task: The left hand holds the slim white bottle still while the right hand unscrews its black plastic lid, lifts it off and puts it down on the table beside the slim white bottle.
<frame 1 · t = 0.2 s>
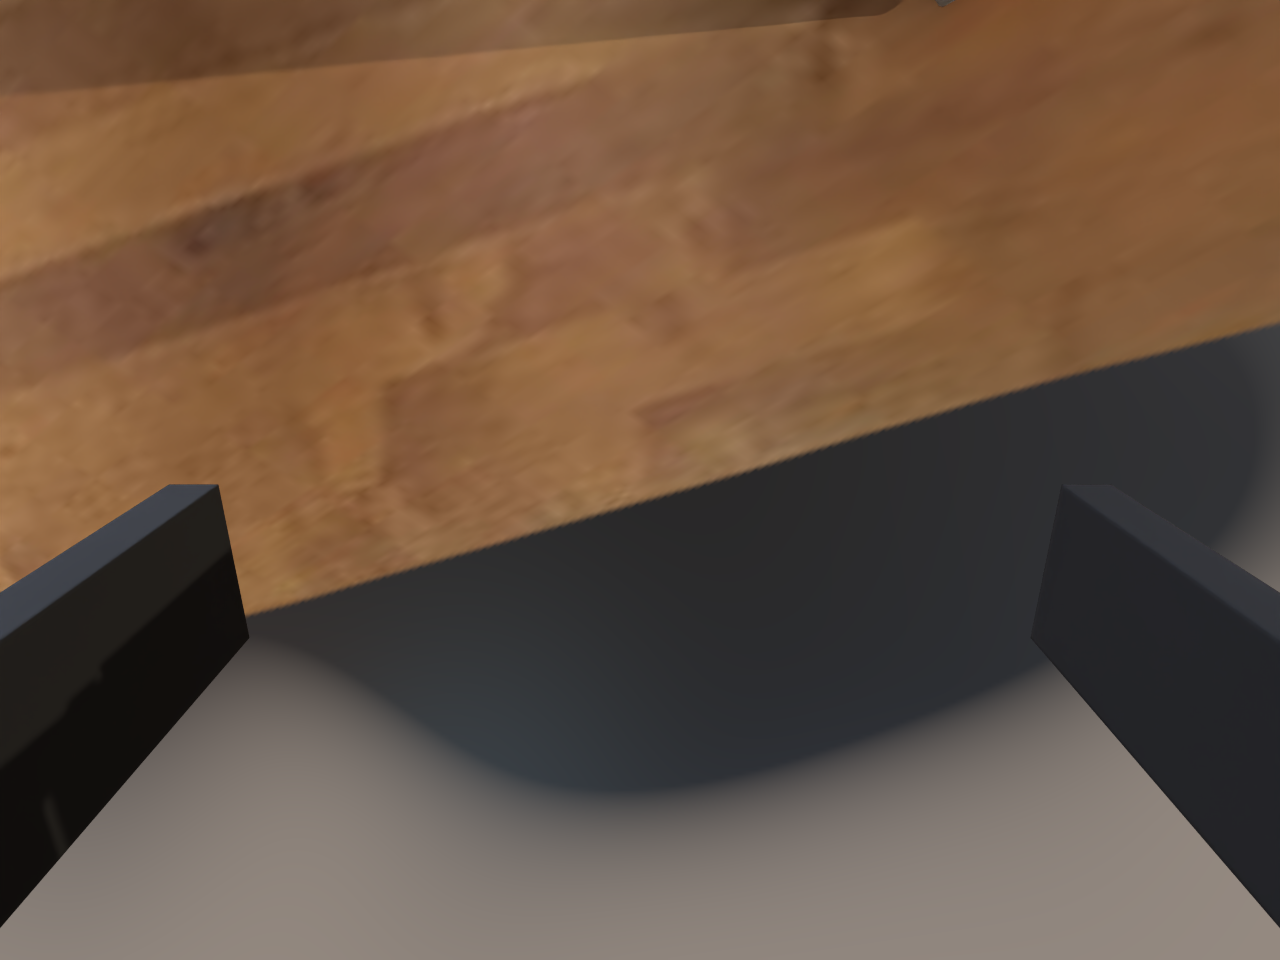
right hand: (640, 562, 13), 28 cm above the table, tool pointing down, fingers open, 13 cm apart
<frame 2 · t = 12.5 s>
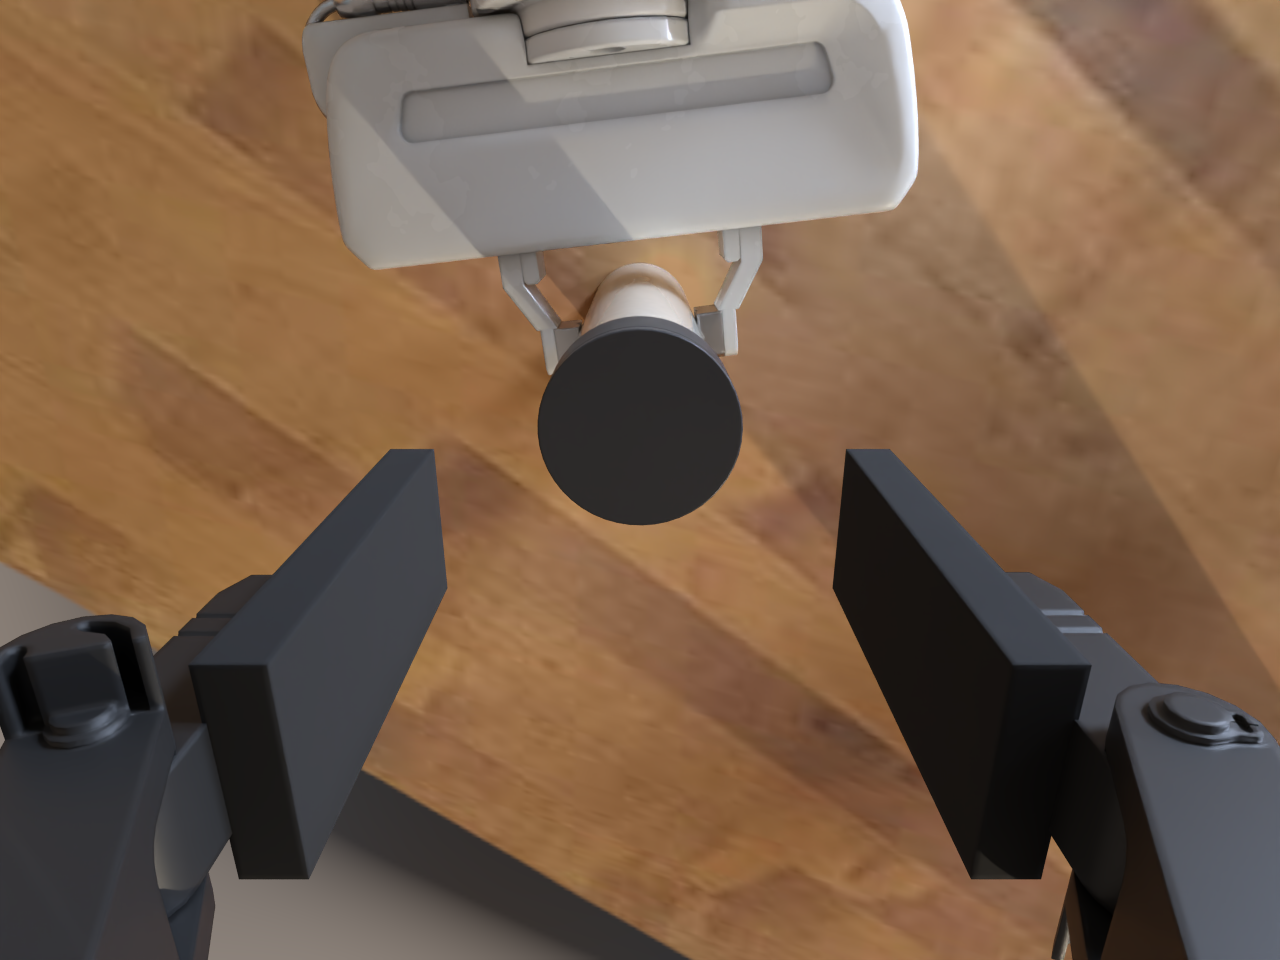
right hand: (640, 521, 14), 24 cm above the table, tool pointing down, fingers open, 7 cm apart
left hand: (643, 362, 31), fingers closed on slim white bottle, 4 cm apart
lid: (640, 427, 19), point 19 cm above the table, screwed on, not yet turned
slim white bottle: (639, 312, 37), on the table, touching left hand
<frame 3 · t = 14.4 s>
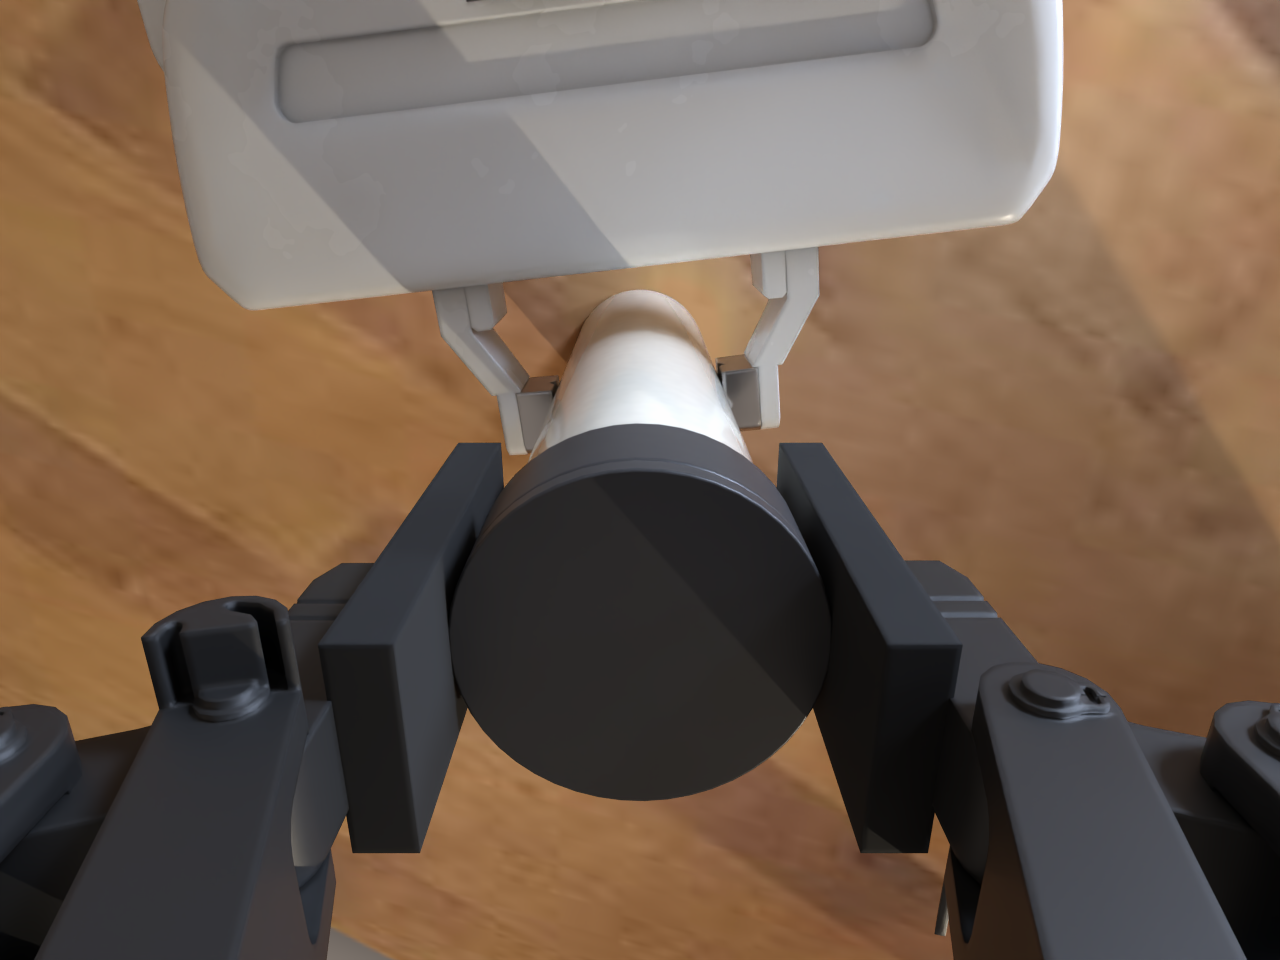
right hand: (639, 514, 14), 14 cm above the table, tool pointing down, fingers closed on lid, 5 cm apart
lid: (640, 635, 11), point 19 cm above the table, screwed on, not yet turned, touching right hand
slim white bottle: (639, 354, 28), on the table, touching left hand
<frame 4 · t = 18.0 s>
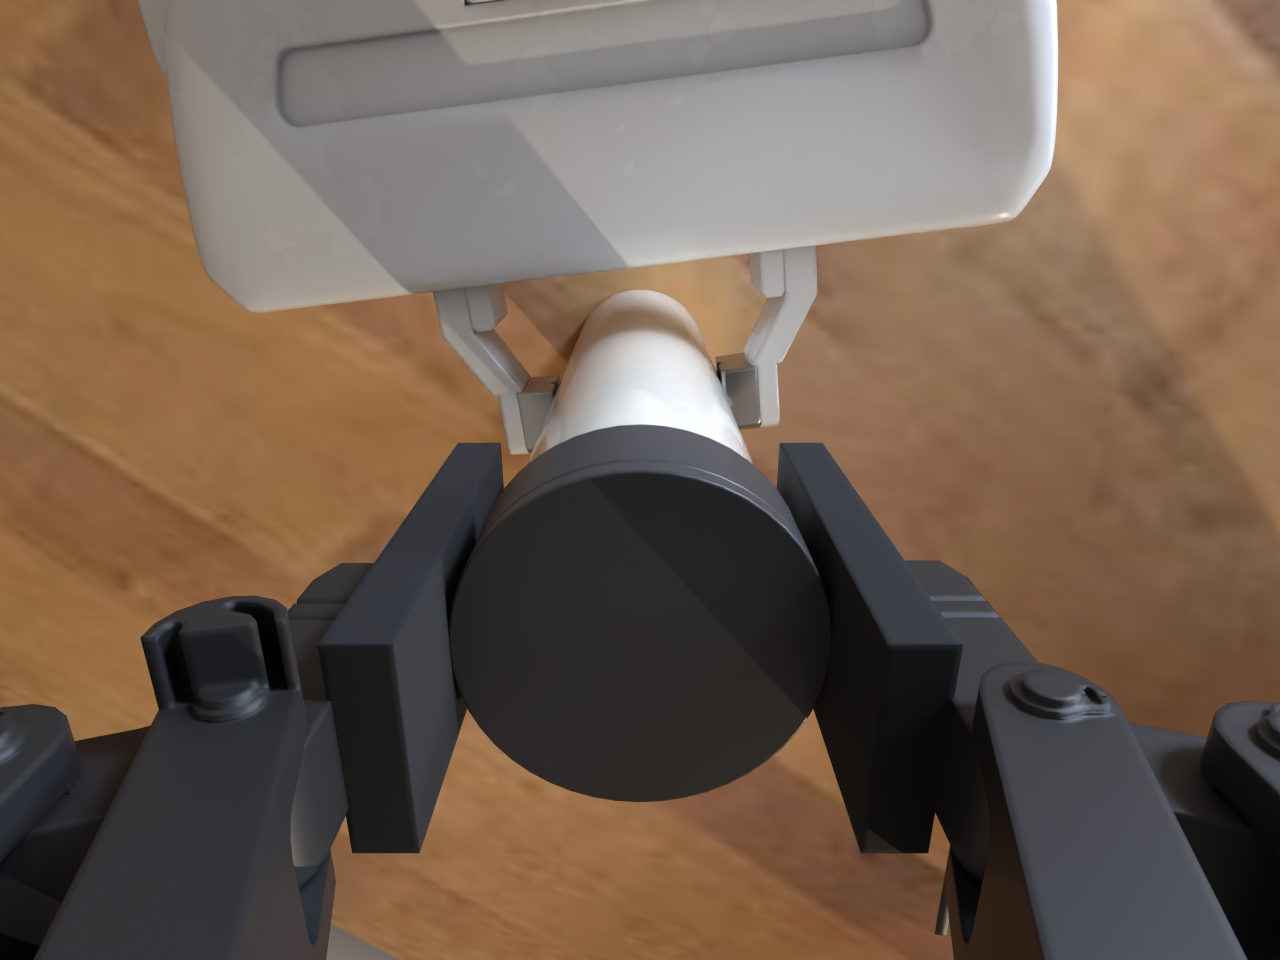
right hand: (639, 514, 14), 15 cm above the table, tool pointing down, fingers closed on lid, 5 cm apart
lid: (640, 636, 11), point 19 cm above the table, turned 118° so far, risen 0.1 cm, still on its thread, touching right hand
slim white bottle: (640, 353, 28), on the table, touching left hand
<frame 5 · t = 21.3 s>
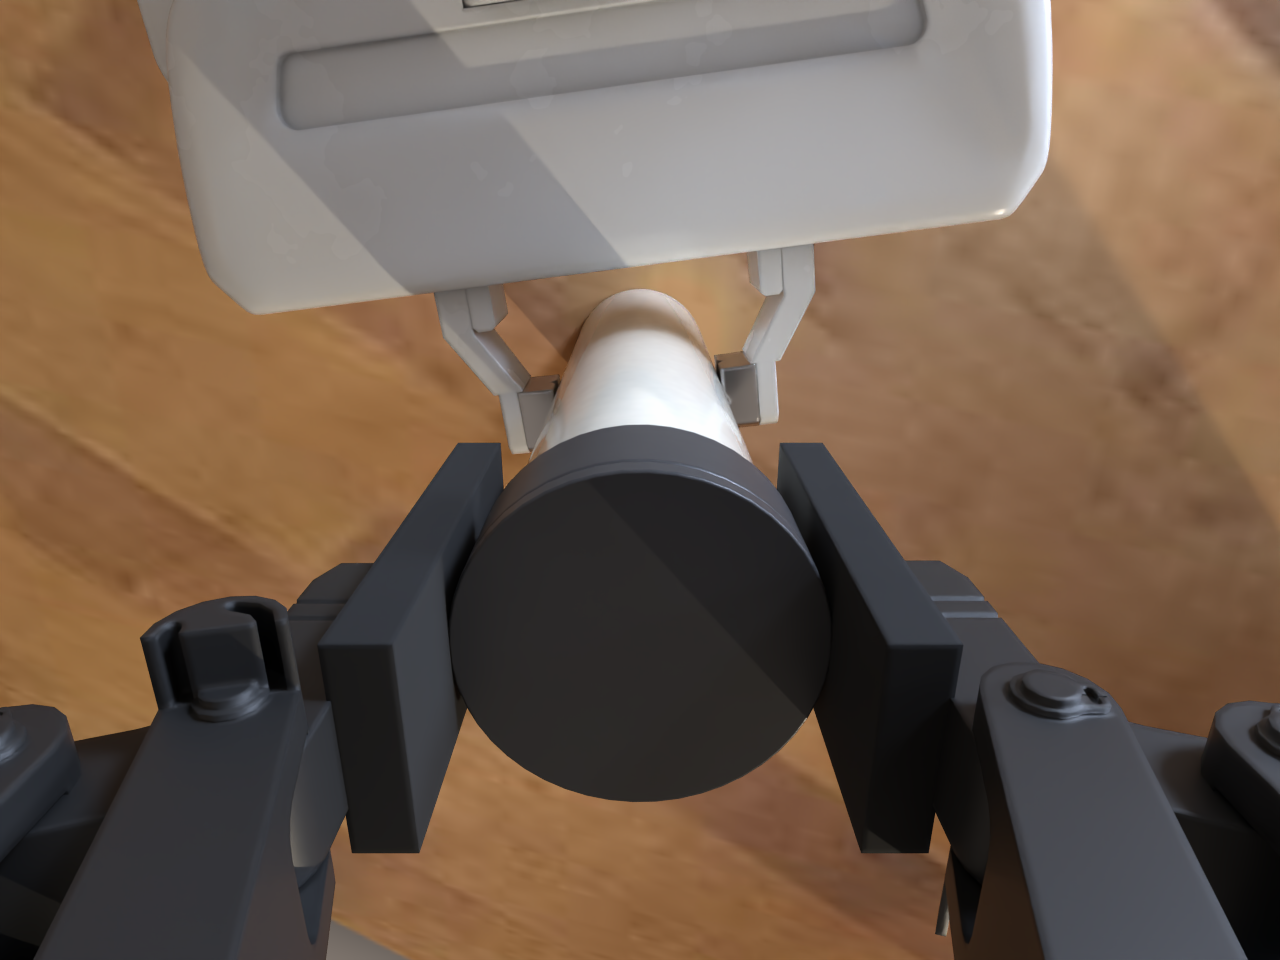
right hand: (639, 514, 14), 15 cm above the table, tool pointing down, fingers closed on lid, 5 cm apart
lid: (640, 636, 11), point 19 cm above the table, turned 235° so far, risen 0.3 cm, still on its thread, touching right hand
slim white bottle: (640, 352, 28), on the table, touching left hand
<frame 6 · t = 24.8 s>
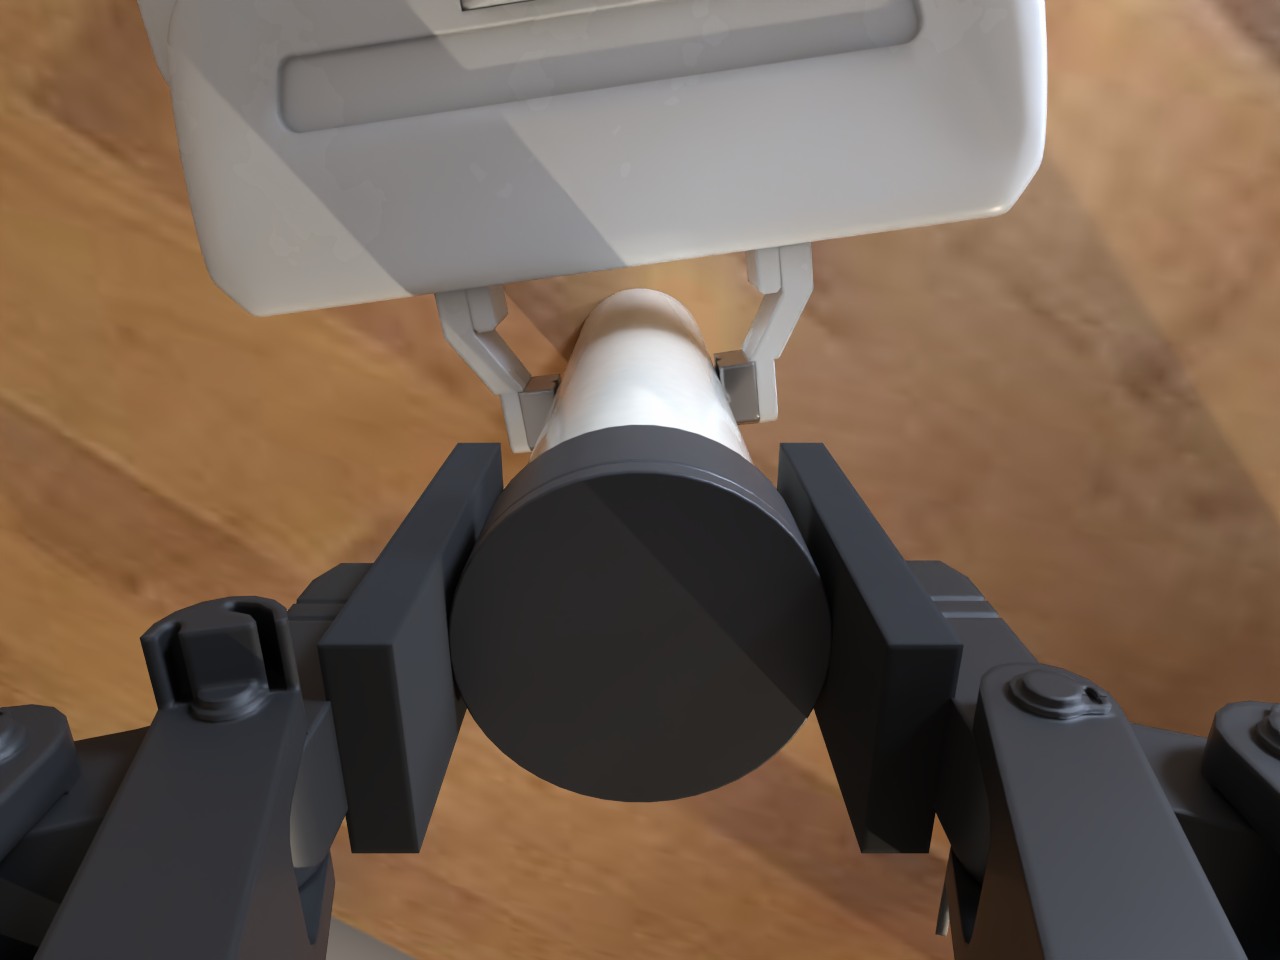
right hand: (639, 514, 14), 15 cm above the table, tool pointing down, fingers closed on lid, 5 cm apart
lid: (640, 636, 11), point 19 cm above the table, turned 353° so far, risen 0.4 cm, still on its thread, touching right hand
slim white bottle: (640, 352, 28), on the table, touching left hand
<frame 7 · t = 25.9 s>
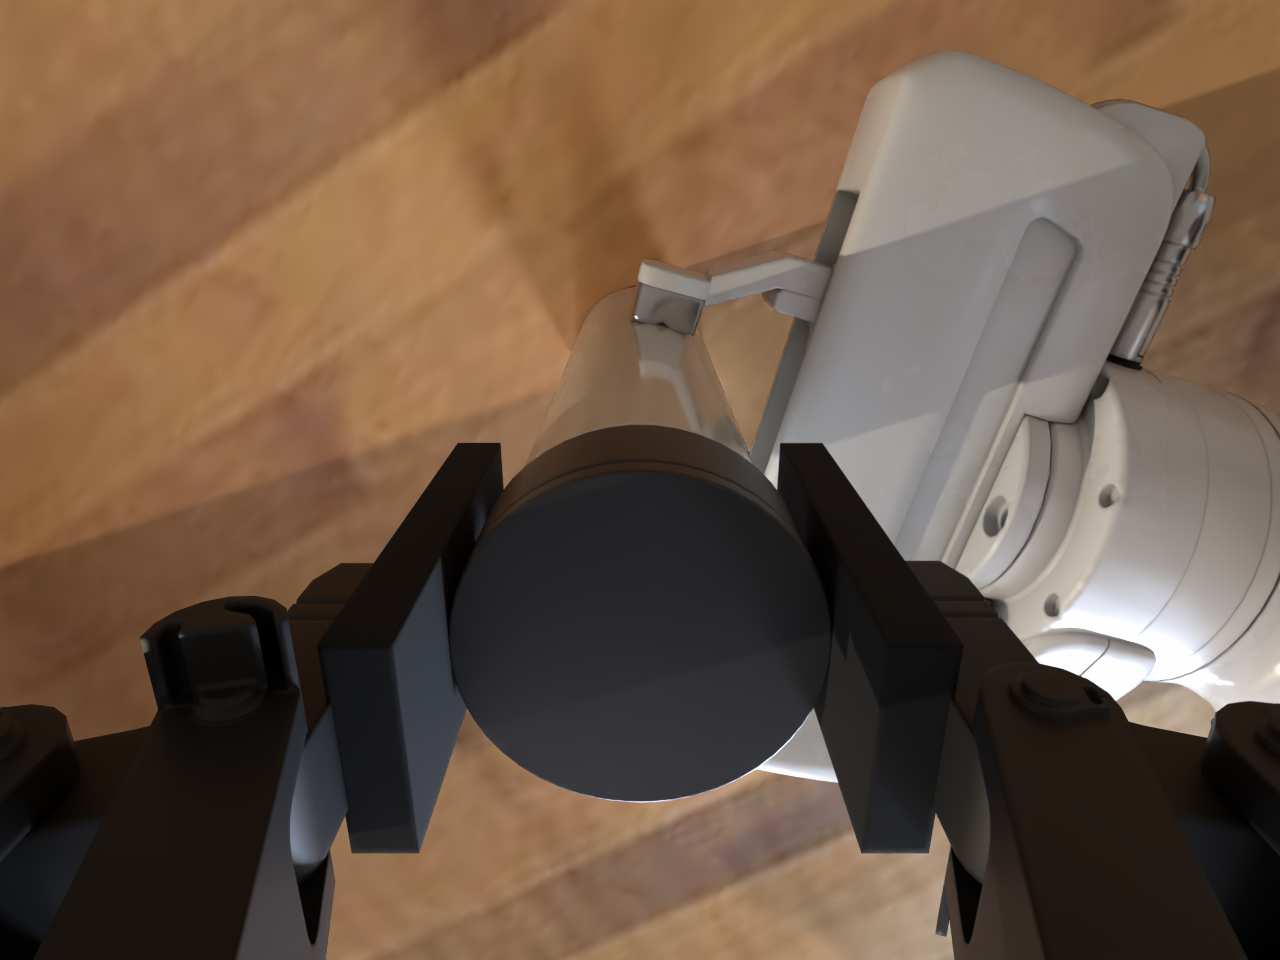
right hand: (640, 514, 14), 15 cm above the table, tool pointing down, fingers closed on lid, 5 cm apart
lid: (640, 636, 11), point 19 cm above the table, off its thread, touching right hand
slim white bottle: (639, 350, 28), on the table, touching left hand
when the right hand's fingers open (0 cm above the table, at t = 30.9 s): lid drops 3 cm, point 2 cm above the table.
when the left hand's fingers open (7 cm above the table, at t = 32.0 s): slim white bottle stays where it is, on the table.
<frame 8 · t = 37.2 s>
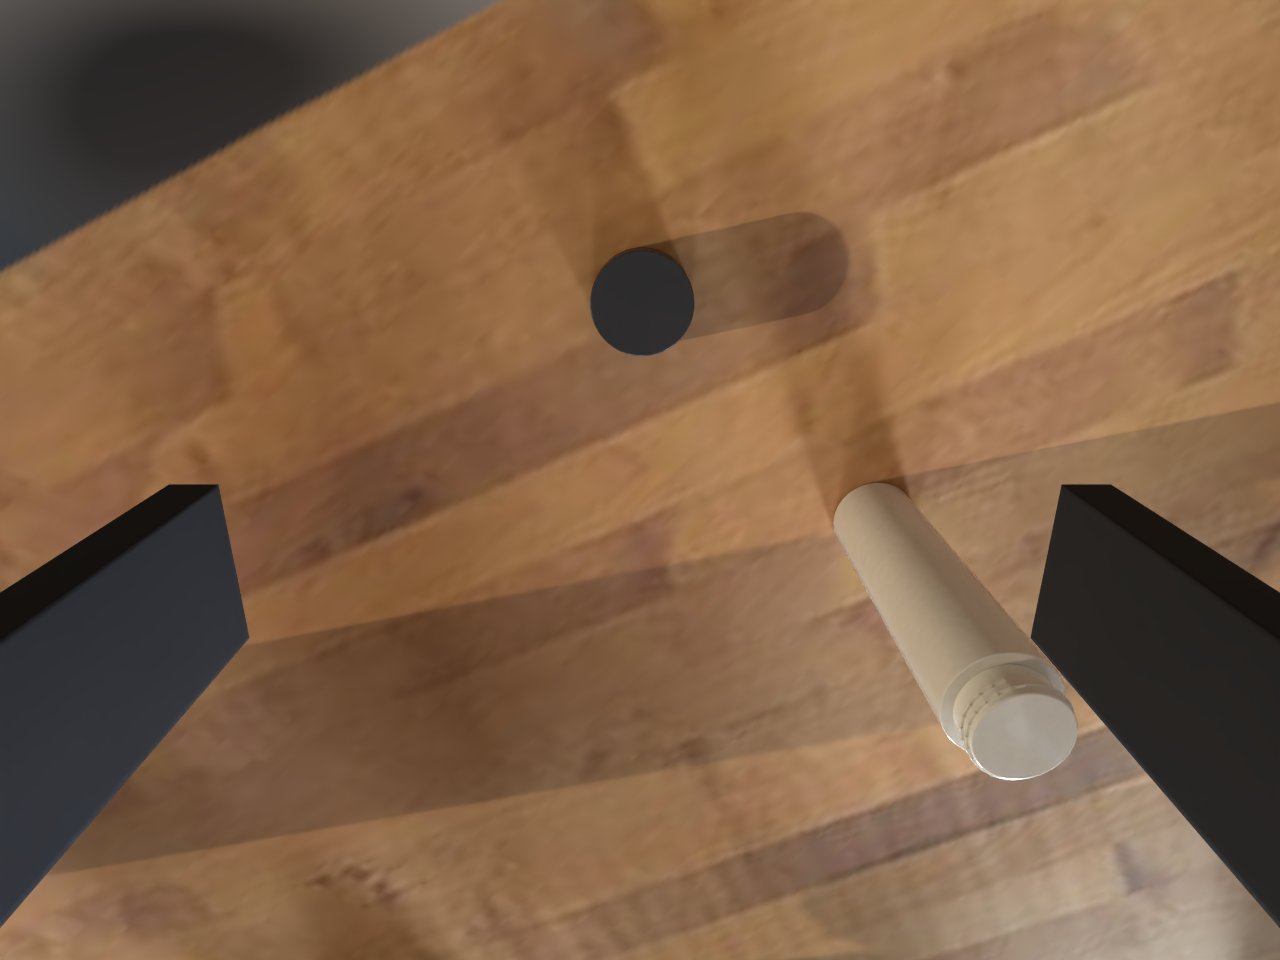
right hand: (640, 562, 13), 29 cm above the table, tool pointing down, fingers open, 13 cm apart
lid: (642, 303, 38), point 2 cm above the table, off its thread
slim white bottle: (873, 519, 44), on the table
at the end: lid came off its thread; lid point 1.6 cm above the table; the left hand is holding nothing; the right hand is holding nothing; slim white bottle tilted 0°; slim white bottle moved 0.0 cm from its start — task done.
